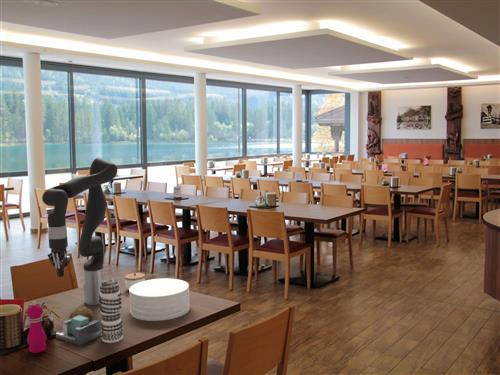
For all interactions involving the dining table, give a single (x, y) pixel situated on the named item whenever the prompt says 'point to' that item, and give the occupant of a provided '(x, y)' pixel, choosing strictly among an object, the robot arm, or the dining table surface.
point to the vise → (82, 333)
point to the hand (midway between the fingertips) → (60, 276)
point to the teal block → (78, 322)
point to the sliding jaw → (67, 327)
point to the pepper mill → (36, 329)
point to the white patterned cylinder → (110, 311)
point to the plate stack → (159, 299)
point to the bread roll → (82, 312)
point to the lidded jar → (134, 279)
